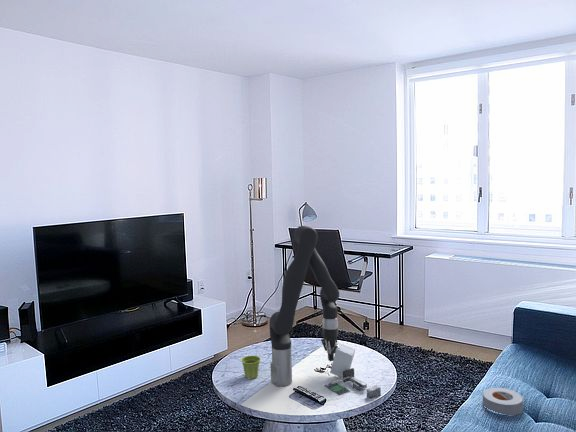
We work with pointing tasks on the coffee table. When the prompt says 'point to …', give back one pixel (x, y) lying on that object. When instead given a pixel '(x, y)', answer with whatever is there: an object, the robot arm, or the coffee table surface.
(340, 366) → the skincare box
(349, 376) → the grey l-shaped bracket
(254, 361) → the plant pot
